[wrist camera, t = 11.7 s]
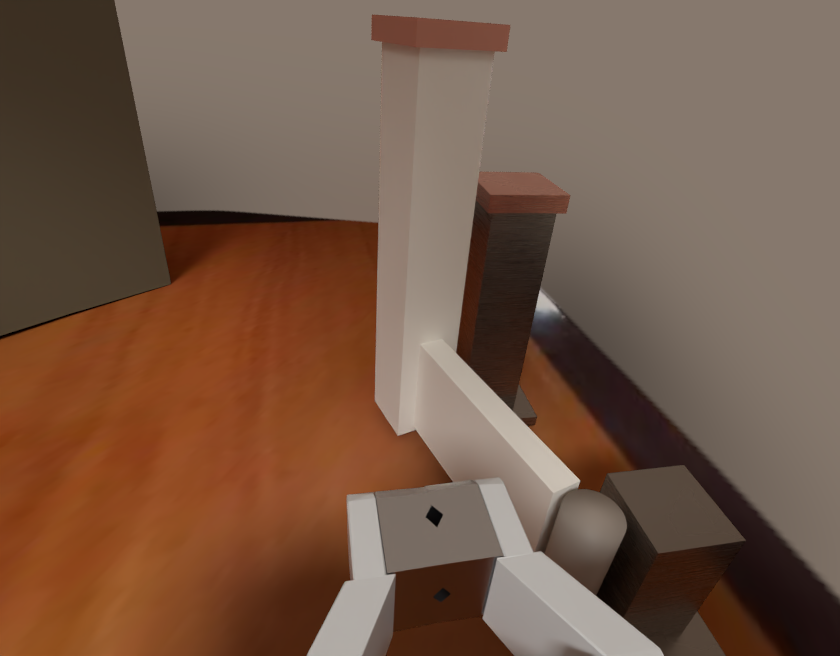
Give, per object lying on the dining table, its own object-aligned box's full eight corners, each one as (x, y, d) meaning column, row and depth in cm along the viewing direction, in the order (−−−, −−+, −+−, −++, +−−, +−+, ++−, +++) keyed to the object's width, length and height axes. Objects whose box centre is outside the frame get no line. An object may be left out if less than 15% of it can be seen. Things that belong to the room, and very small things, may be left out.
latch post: (448, 432, 26) (479, 199, 20) (430, 375, 31) (450, 167, 24) (534, 424, 27) (593, 200, 21) (505, 370, 31) (546, 169, 25)
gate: (367, 398, 28) (371, 14, 18) (423, 382, 29) (455, 21, 19) (535, 659, 17) (781, 41, 7) (610, 612, 18) (897, 52, 8)
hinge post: (591, 690, 16) (647, 592, 13) (535, 554, 21) (567, 454, 17) (719, 664, 17) (800, 566, 14) (641, 539, 22) (690, 442, 18)
